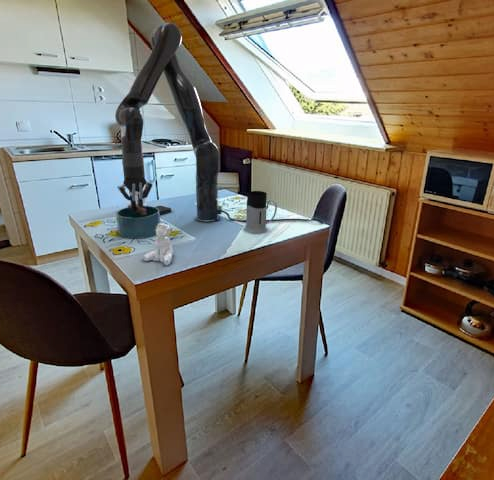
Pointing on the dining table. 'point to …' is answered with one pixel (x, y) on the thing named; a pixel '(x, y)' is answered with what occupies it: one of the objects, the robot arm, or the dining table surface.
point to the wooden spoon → (138, 209)
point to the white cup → (143, 199)
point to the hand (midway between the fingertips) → (137, 209)
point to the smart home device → (163, 209)
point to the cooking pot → (137, 222)
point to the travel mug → (257, 212)
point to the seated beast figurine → (161, 245)
